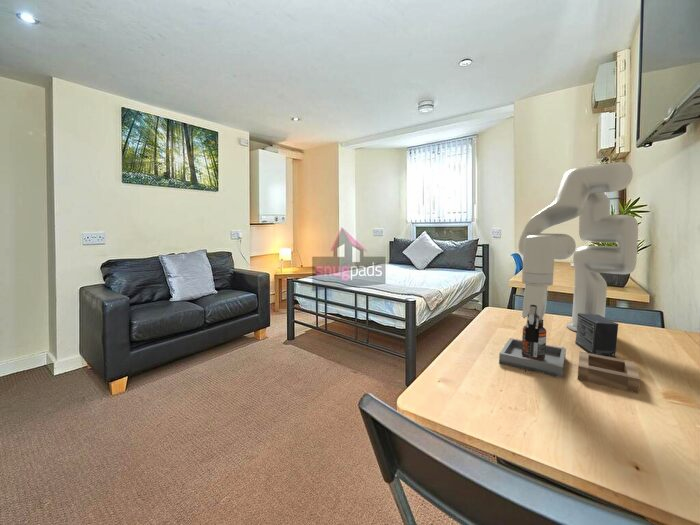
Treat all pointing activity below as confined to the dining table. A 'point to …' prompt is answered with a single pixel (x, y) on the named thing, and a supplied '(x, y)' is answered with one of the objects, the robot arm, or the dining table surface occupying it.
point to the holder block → (608, 371)
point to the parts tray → (548, 366)
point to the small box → (596, 334)
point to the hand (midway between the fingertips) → (534, 336)
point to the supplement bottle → (535, 345)
